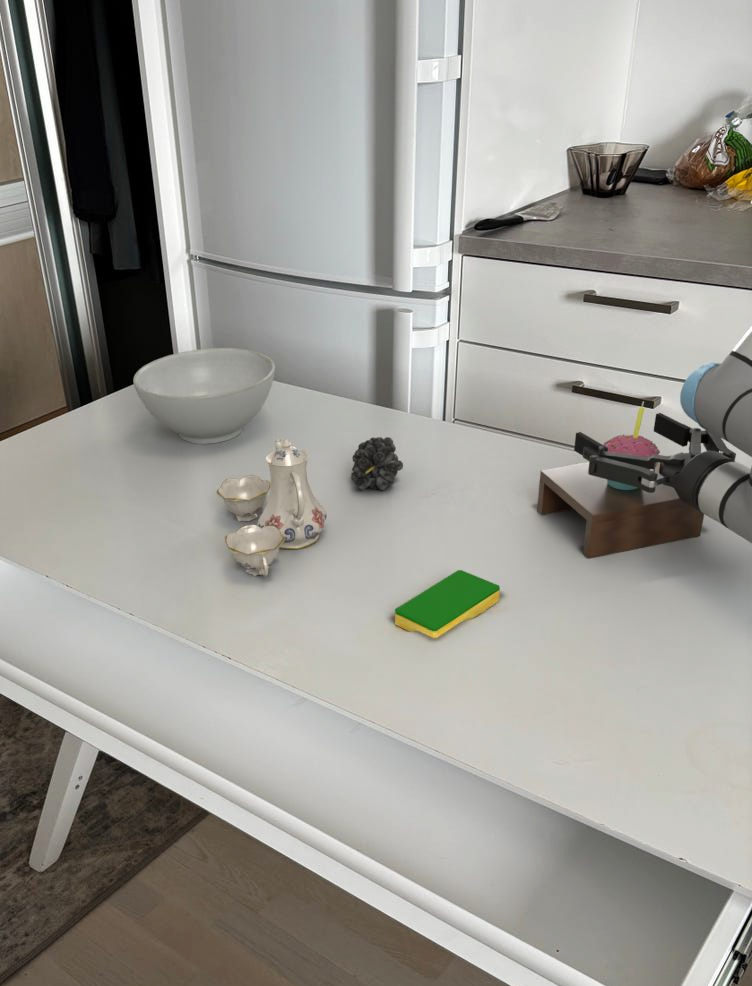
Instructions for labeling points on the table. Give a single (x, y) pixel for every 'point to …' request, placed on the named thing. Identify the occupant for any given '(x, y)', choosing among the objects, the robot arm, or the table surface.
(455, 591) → the dish sponge
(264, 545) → the chinaware
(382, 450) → the fruit
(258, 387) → the decorative bowl
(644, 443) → the cupcake
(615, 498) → the shelf
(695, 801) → the table surface
